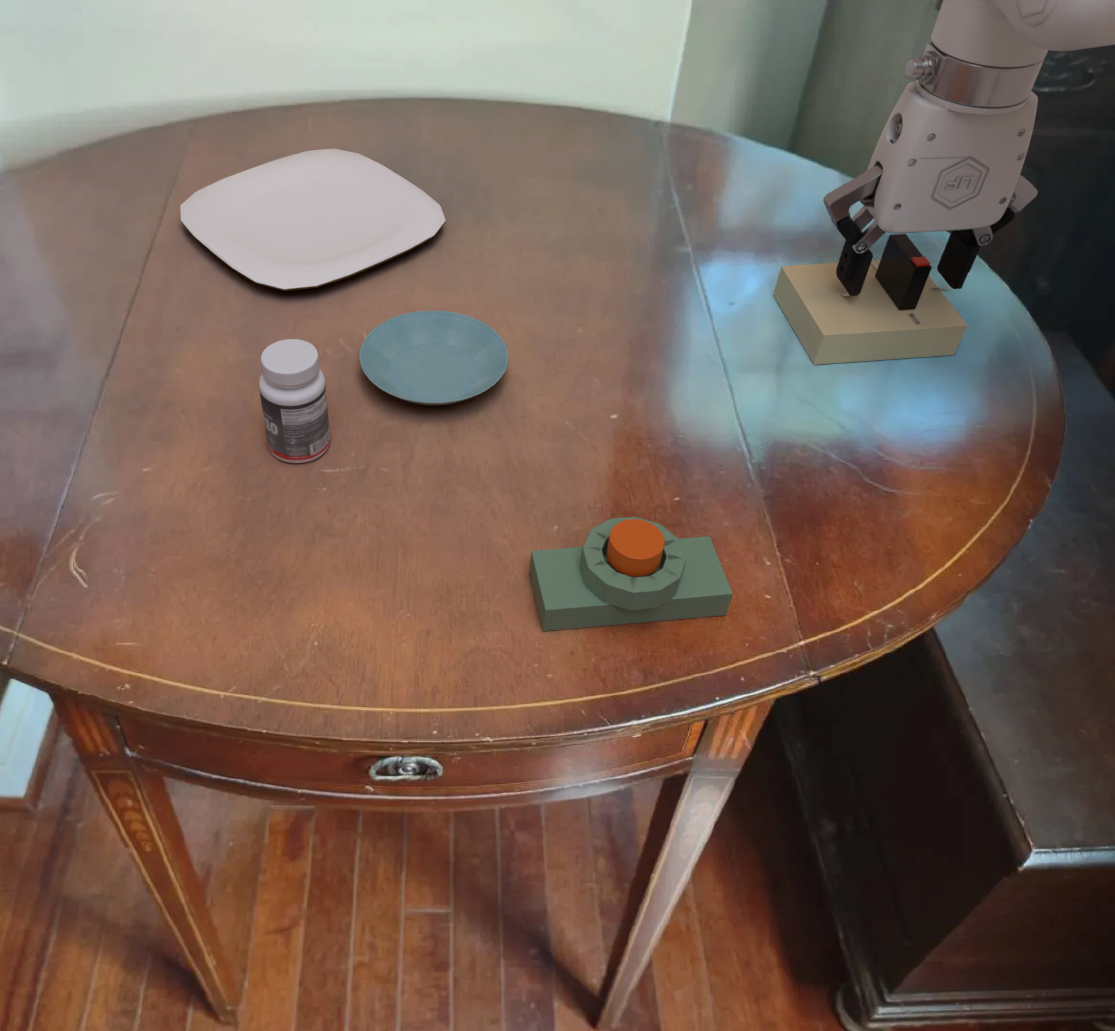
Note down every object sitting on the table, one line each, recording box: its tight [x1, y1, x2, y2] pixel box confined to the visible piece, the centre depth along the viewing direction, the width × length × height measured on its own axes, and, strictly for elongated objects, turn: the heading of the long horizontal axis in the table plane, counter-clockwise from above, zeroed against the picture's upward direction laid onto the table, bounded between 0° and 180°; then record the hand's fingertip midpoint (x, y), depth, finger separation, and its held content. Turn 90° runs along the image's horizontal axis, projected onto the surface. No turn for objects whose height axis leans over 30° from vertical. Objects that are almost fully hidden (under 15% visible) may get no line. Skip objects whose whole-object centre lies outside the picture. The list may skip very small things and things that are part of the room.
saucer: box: [358, 310, 510, 406], centre depth 84 cm, size 12×12×2 cm
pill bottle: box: [258, 338, 331, 464], centre depth 76 cm, size 5×5×8 cm
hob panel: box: [772, 259, 968, 366], centre depth 88 cm, size 13×10×3 cm
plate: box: [179, 148, 447, 292], centre depth 100 cm, size 22×22×2 cm
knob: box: [875, 233, 933, 310], centre depth 86 cm, size 5×1×4 cm, turn 6°
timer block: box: [528, 516, 734, 632], centre depth 67 cm, size 12×6×4 cm, turn 96°
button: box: [606, 519, 665, 577], centre depth 66 cm, size 3×3×2 cm
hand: (898, 282), depth 87 cm, fingers open, 8 cm apart
